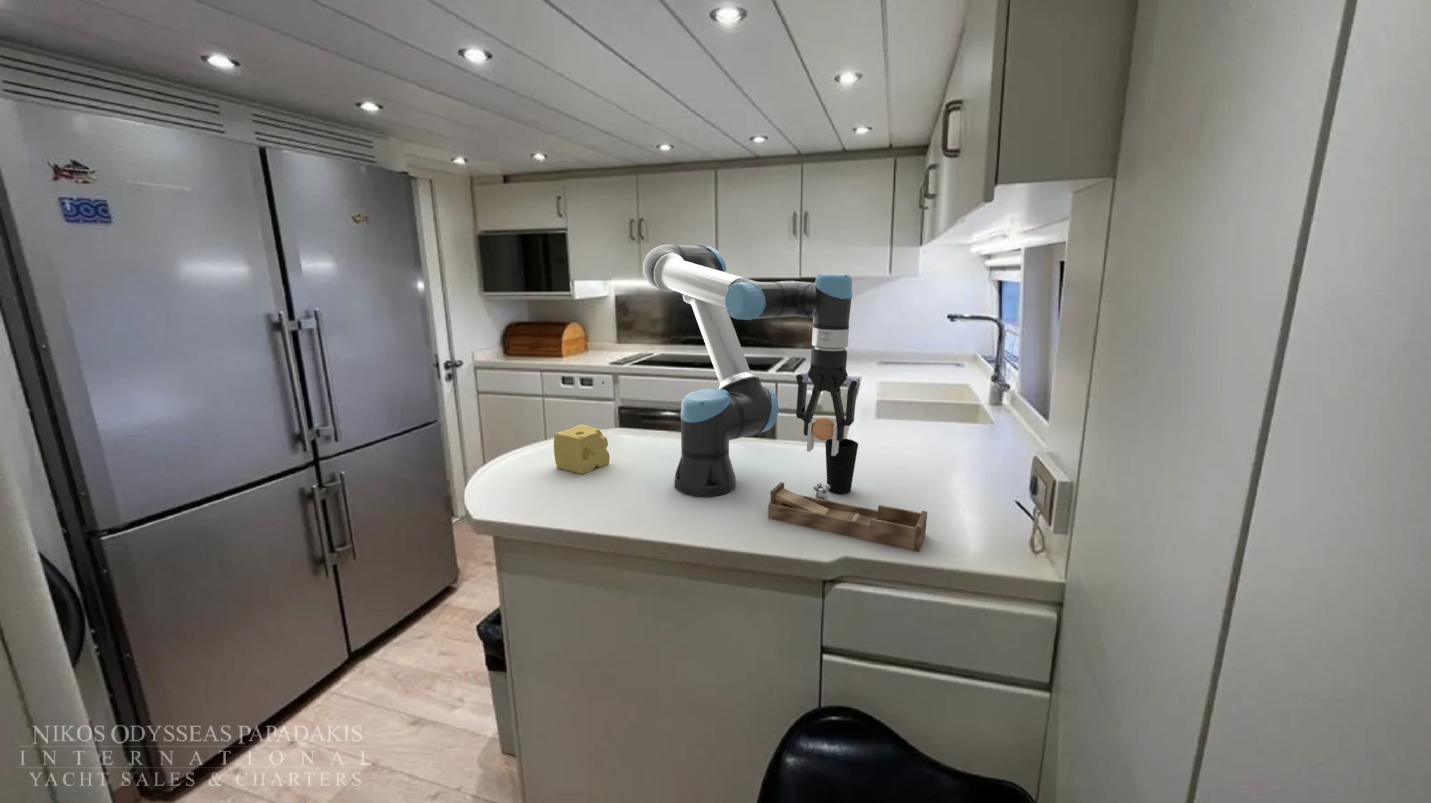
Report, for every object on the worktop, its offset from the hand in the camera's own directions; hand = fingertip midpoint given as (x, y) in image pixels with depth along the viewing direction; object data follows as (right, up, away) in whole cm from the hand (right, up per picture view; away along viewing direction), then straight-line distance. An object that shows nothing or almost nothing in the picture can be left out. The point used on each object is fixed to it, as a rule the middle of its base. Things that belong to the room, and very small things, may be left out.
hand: (822, 451), depth 125 cm
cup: (+6, -11, +12) cm, 17 cm away
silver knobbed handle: (0, -12, +3) cm, 13 cm away
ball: (0, +5, -1) cm, 5 cm away
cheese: (-60, -7, +27) cm, 66 cm away
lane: (+3, -15, -8) cm, 17 cm away
